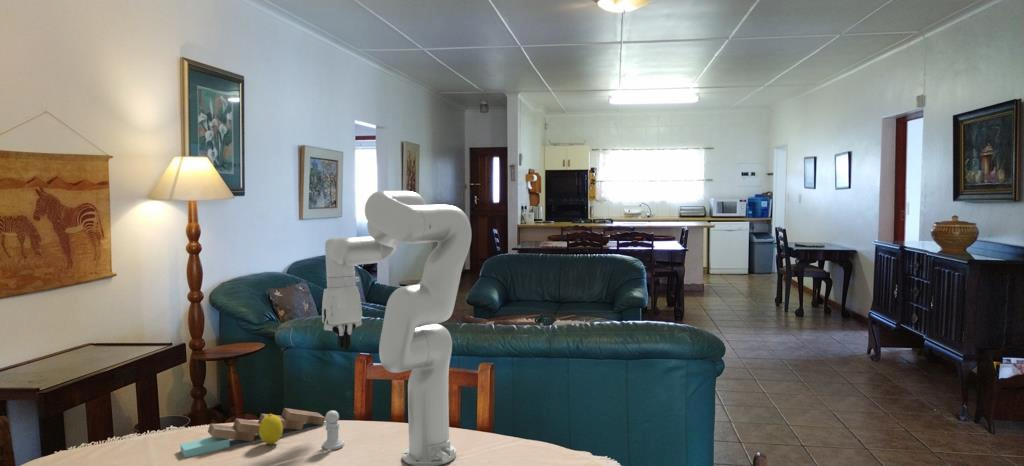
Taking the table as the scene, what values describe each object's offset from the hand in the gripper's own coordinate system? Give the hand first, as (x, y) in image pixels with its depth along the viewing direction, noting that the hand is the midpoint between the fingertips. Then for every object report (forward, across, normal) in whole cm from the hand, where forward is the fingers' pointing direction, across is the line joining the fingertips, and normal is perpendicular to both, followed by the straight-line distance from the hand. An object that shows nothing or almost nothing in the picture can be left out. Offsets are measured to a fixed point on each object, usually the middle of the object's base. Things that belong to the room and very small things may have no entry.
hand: (344, 349), depth 176 cm
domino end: (+18, +30, -4) cm, 36 cm away
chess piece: (+21, +10, +14) cm, 27 cm away
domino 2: (+19, +18, -4) cm, 27 cm away
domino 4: (+19, +6, -4) cm, 20 cm away
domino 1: (+19, +24, -4) cm, 31 cm away
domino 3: (+19, +12, -4) cm, 23 cm away
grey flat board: (+20, +18, -4) cm, 27 cm away
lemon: (+20, +22, +3) cm, 30 cm away
